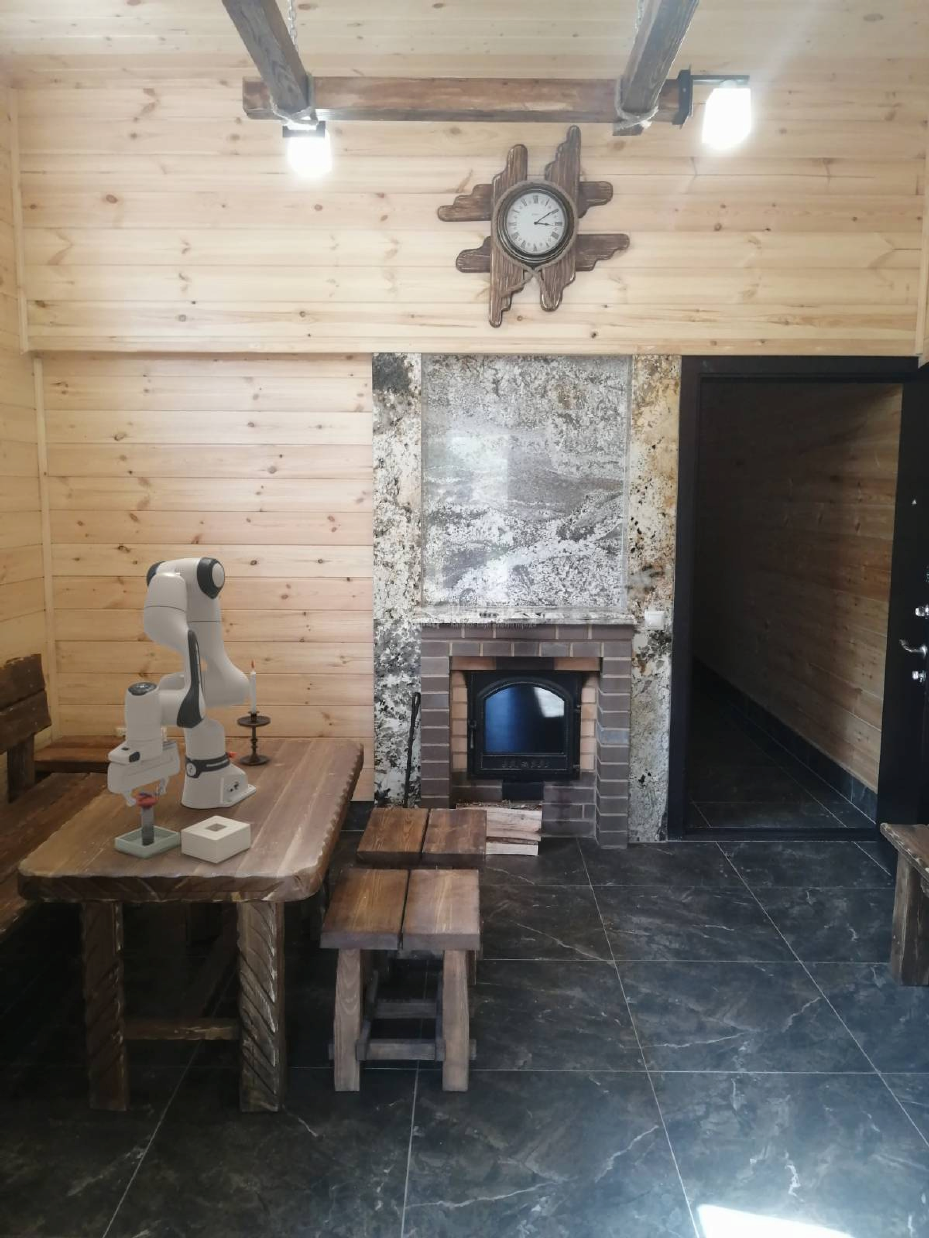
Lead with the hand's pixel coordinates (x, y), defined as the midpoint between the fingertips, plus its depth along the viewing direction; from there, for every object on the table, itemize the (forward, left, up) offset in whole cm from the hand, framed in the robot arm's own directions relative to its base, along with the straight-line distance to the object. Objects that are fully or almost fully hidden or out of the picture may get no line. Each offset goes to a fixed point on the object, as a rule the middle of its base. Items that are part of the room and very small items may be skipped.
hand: (146, 799), depth 226 cm
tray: (0, 0, -13) cm, 13 cm away
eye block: (-8, +16, -13) cm, 22 cm away
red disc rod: (0, 0, -12) cm, 12 cm away
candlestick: (-67, -26, -13) cm, 73 cm away
